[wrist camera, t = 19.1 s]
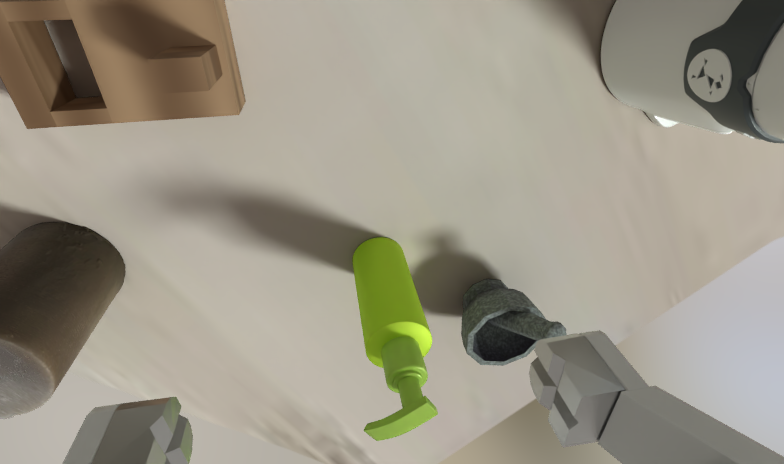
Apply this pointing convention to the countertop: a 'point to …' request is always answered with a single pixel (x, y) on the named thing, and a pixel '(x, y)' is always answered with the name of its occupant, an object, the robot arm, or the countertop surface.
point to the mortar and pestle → (502, 324)
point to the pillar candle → (50, 307)
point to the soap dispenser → (393, 332)
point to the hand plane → (121, 61)
